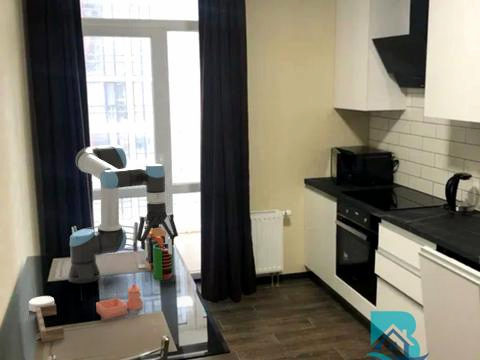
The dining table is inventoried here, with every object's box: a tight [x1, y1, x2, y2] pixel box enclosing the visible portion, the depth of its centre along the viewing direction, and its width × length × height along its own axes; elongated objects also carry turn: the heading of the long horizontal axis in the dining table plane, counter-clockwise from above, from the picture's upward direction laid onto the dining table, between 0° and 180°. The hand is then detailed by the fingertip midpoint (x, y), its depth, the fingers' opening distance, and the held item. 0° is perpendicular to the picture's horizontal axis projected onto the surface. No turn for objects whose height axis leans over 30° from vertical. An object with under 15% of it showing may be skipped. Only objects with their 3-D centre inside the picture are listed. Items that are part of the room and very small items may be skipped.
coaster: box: [28, 295, 55, 313], centre depth 217 cm, size 10×10×4 cm
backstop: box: [35, 303, 65, 343], centre depth 198 cm, size 26×8×4 cm, turn 25°
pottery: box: [95, 283, 144, 320], centre depth 213 cm, size 18×10×10 cm, turn 126°
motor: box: [153, 236, 174, 281], centre depth 253 cm, size 10×9×20 cm
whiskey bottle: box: [143, 224, 167, 273], centre depth 266 cm, size 10×10×32 cm
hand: (158, 255), depth 215 cm, fingers open, 10 cm apart
